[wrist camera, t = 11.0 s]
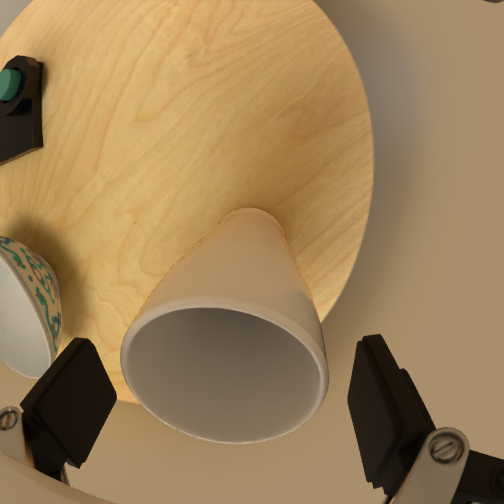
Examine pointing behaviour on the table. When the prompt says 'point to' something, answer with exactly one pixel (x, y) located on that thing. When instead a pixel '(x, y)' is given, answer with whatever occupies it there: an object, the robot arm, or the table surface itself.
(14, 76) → the tare button
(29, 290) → the chinaware
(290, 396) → the white tall cup
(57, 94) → the table surface
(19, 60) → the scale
